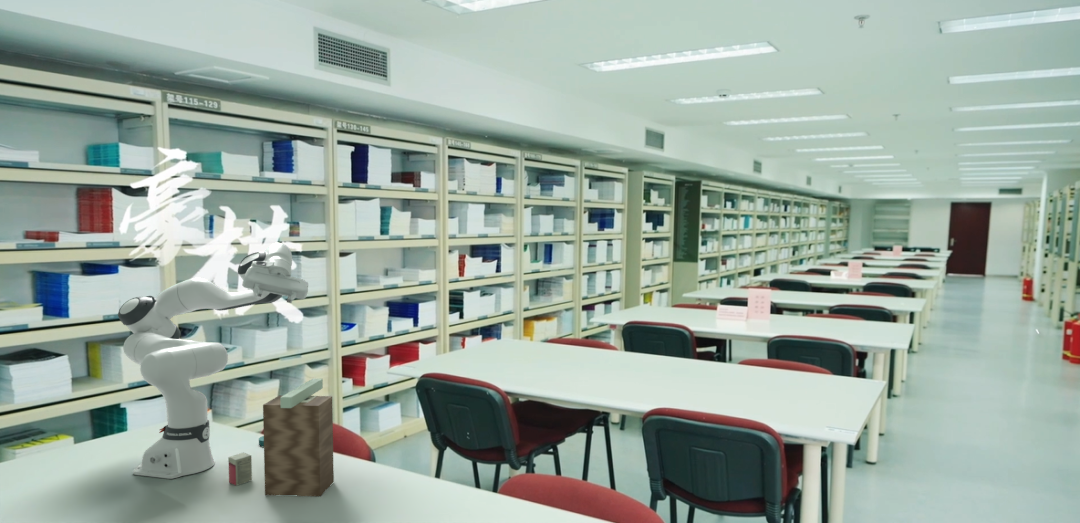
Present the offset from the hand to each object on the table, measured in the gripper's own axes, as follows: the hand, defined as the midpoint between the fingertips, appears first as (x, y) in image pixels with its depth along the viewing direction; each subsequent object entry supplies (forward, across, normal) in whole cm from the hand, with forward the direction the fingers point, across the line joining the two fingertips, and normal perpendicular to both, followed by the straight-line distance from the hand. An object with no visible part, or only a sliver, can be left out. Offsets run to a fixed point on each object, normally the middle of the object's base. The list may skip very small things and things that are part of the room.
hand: (274, 298), depth 205 cm
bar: (+35, -12, -8) cm, 38 cm away
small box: (+41, -3, -39) cm, 57 cm away
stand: (+50, -17, -28) cm, 60 cm away
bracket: (+15, -16, -51) cm, 55 cm away
